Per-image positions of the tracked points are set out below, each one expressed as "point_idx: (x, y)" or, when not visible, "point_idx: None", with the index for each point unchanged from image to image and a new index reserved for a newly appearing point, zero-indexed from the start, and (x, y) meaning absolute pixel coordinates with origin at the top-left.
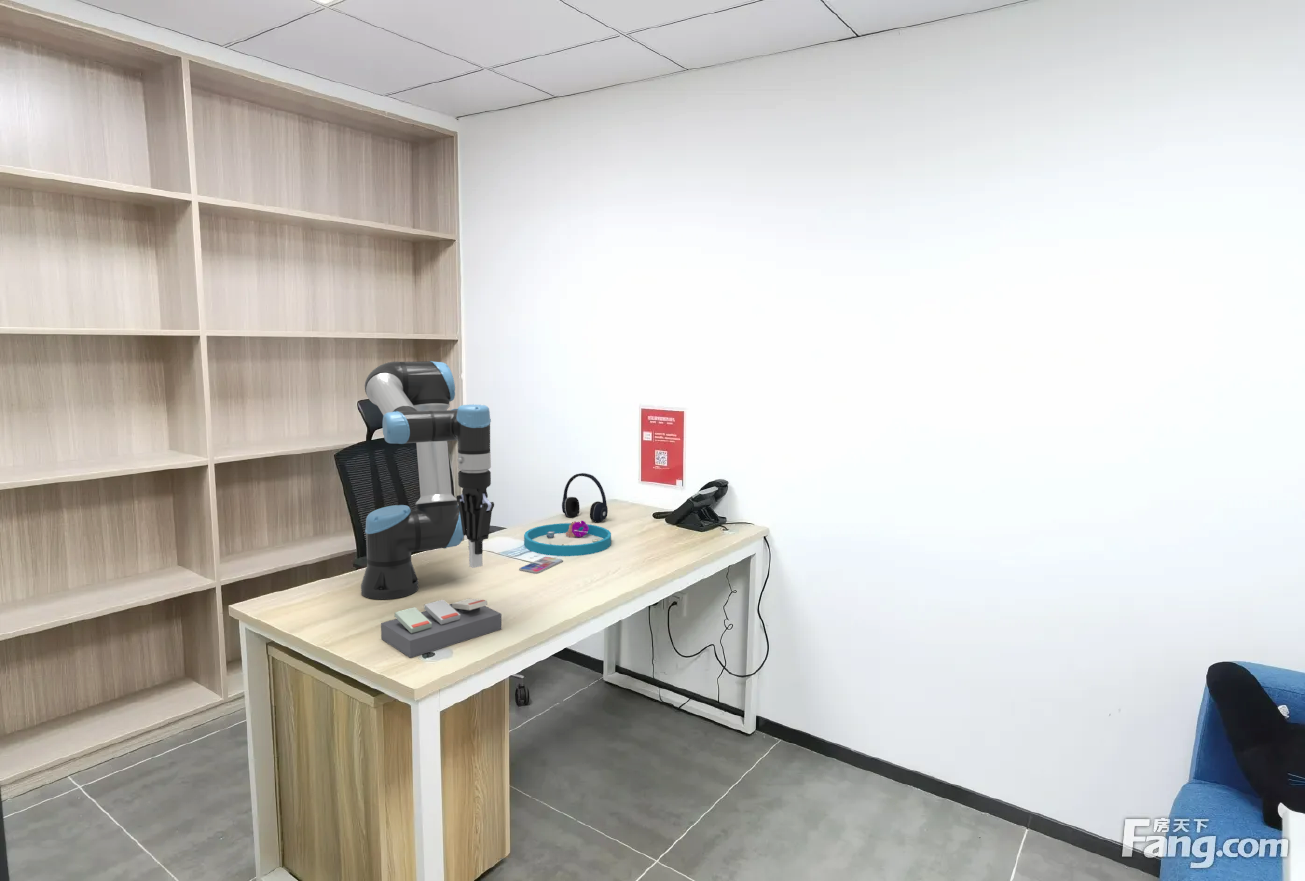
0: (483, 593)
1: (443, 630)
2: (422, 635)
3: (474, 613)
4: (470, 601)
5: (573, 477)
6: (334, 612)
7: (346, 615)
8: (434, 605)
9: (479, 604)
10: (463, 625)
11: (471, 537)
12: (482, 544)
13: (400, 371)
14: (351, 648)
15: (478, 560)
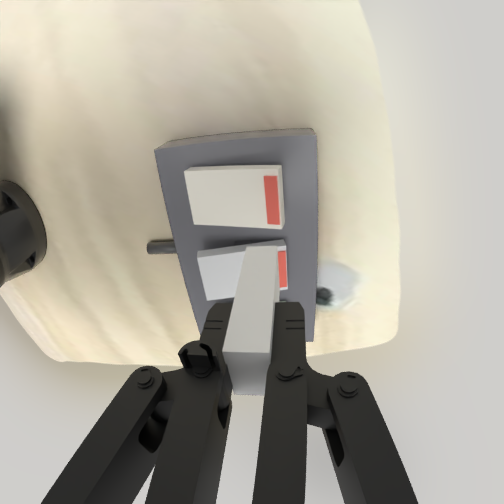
0: (72, 71)
1: (314, 288)
2: (307, 322)
3: None
4: (232, 196)
5: None
6: (78, 314)
7: (92, 310)
8: (219, 284)
9: (281, 194)
10: (317, 245)
11: (230, 398)
12: (304, 344)
13: None
14: None
15: (277, 283)
